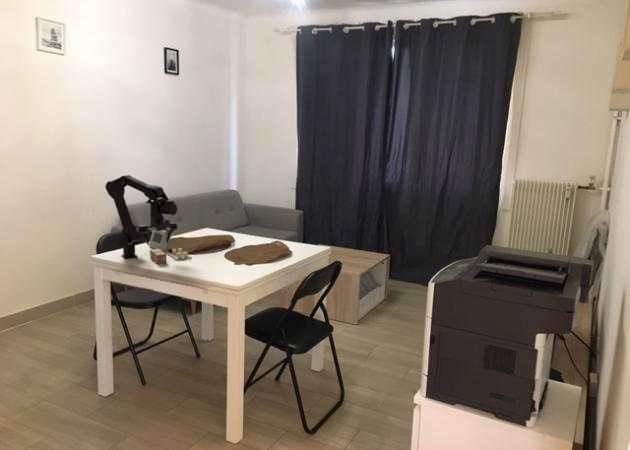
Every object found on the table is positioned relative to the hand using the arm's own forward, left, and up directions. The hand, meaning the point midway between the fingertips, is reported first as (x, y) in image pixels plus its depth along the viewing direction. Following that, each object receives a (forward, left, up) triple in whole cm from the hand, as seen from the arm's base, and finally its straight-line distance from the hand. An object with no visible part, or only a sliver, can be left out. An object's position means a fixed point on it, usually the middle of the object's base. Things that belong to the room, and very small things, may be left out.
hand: (157, 244), depth 248 cm
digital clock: (-22, +8, -9) cm, 25 cm away
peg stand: (-3, +12, -9) cm, 15 cm away
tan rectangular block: (0, 0, -9) cm, 9 cm away
